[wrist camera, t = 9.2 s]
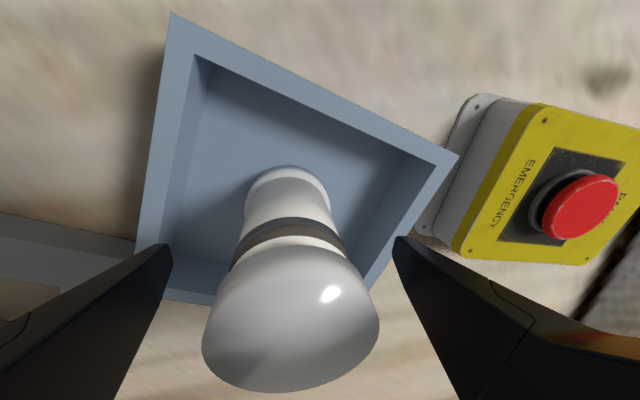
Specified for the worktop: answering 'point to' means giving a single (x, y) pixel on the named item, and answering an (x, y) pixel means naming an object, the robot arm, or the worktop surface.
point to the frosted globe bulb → (289, 293)
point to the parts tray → (269, 160)
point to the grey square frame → (55, 253)
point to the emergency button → (534, 183)
